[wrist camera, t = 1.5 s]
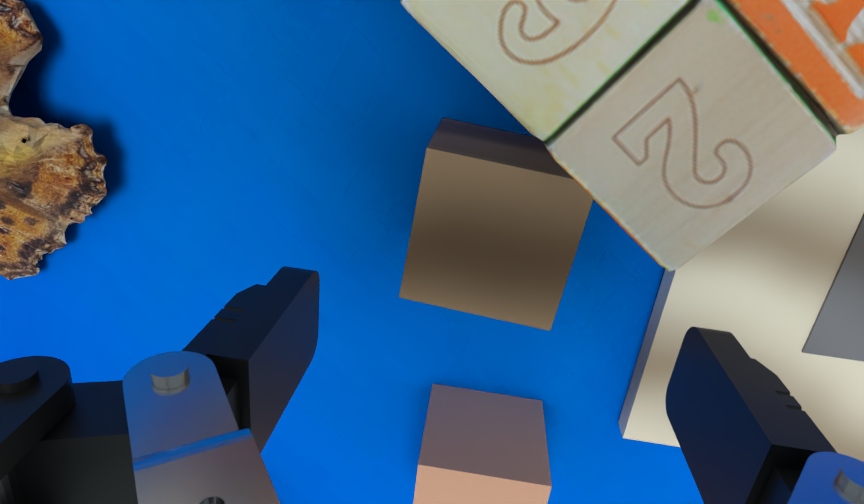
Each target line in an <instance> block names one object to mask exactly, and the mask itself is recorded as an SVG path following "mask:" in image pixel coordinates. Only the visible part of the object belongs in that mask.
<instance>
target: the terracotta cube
mask: <svg viewBox="0 0 864 504" xmlns="http://www.w3.org/2000/svg"><path fill="white" fill-rule="evenodd" d="M551 487H552V485H551V476H550V467H549V458H548V448H547V439H546V430H545V421H544V412H543V403H542V401H541V400H535V399H529V398H522V397H516V396H509V395H503V394H497V393H490V392H484V391H477V390H471V389H465V388H458V387H452V386H445V385H439V384H432V389H431V395H430V401H429V406H428V412H427V417H426V423H425V428H424V434H423V440H422V445H421V451H420V456H419V462H418V469H417V477H416V485H415V493H414V501H413V504H547V502H548V499H549V495H550V491H551Z"/></svg>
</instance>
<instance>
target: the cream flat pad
mask: <svg viewBox="0 0 864 504" xmlns="http://www.w3.org/2000/svg"><path fill="white" fill-rule="evenodd" d="M691 327H700V328H707V329H714V330H721V331H728V332H731V333H732V334H733V335H734V336H735V338H736V339H737V340H738V342H739V343H740V344H741V346H742V347H743V348H744V350H745V351H746V352H747V354H748V355H749V356H750V358H753V359H756V360H757V361H759V362H760V363H761V364H763V365H764V366H765V367H767V368H768V369H769V370H771V371H772V372H773V373H775V374H776V375H777V376H778V377H779V378H780V380H781V381H782V382H783V384H784V385H785V386H786V387H787V389H788V390H789V391H790V396H794V398H795V399H796V400H797V402H798V403H799V404H800V405H801V407H802V411H805V412H806V413H807V414H808V416H809V417H810V418H811V419H812V421H813V422H814V423H815V425H816V426H817V427H818V428H819V430H820V431H821V432H822V434H823V435H824V436H825V437H826V439H827V440H828V441H829V443H830V444H831V445H832V446H833V448H834V449H835V450H836V451H837V453H840V454H843V455H847V456H850V457H853V458H855V459H858V460H860V461H863V462H864V127H862V128H861V129H859V130H857V131H855V132H854V133H852V134H841V135H838V136H836V151H835V152H834V153H833V154H832V155H831V156H829V157H828V158H827V159H826V160H824V161H823V162H821V163H820V164H819V165H817V166H816V167H814V168H813V169H812V170H810V171H809V172H807V173H806V174H805V175H803V176H802V177H801V178H799V179H798V180H796V181H795V182H794V183H792V184H791V185H789V186H788V187H787V188H785V189H784V190H783V191H781V192H780V193H778V194H777V195H776V196H774V197H773V198H772V199H770V200H769V201H768V202H766V203H765V204H764V205H762V206H761V207H760V208H758V209H757V210H756V211H754V212H753V213H752V214H750V215H749V216H748V217H746V218H745V219H744V220H742V221H741V222H740V223H738V224H737V225H736V226H734V227H733V228H732V229H730V230H729V231H728V232H726V233H725V234H724V235H722V236H721V237H720V238H718V239H717V240H716V241H714V242H713V243H712V244H710V245H709V246H708V247H706V248H705V249H704V250H703V251H701V252H700V253H699V254H697V255H696V256H695V257H693V258H692V259H691V260H690V261H688V262H687V263H686V264H684V265H683V266H682V267H680V268H679V269H677V270H673V271H670V272H669V271H667V270H666V269H665V272H664V275H663V278H662V282H661V285H660V288H659V291H658V295H657V298H656V301H655V304H654V308H653V311H652V314H651V317H650V321H649V324H648V327H647V330H646V334H645V337H644V340H643V343H642V347H641V350H640V353H639V356H638V360H637V363H636V366H635V369H634V373H633V376H632V379H631V382H630V386H629V389H628V392H627V395H626V399H625V402H624V405H623V408H622V412H621V415H620V418H619V421H618V423H619V427H620V430H621V434H622V437H623V438H626V439H632V440H639V441H645V442H651V443H658V444H664V445H670V446H677V447H680V445H679V442H678V440H677V438H676V435H675V433H674V431H673V428H672V426H671V424H670V421H669V419H668V416H667V413H666V404H665V400H666V391H667V387H668V383H669V380H670V377H671V374H672V371H673V368H674V365H675V362H676V359H677V356H678V353H679V351H680V348H681V345H682V342H683V339H684V336H685V334H686V332H687V330H688V329H689V328H691Z"/></svg>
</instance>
